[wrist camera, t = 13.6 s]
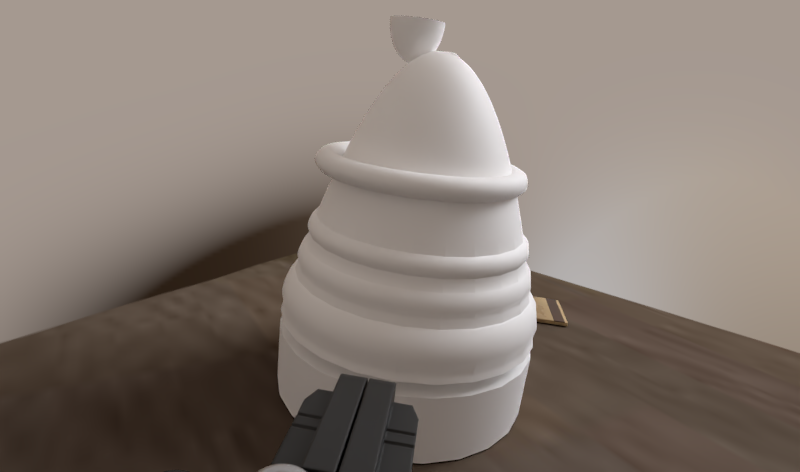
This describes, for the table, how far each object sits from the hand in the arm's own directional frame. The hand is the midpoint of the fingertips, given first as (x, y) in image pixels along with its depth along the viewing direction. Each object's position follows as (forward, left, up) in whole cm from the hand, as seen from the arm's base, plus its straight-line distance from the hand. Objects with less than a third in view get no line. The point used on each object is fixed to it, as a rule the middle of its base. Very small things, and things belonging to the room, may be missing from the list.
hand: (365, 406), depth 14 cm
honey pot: (0, -13, -7) cm, 14 cm away
